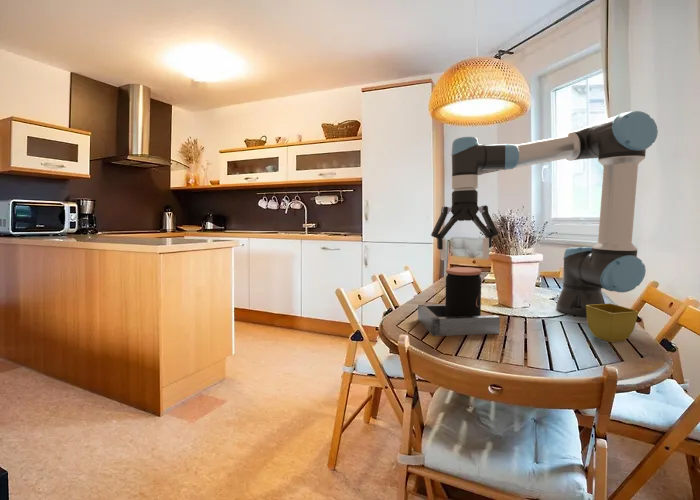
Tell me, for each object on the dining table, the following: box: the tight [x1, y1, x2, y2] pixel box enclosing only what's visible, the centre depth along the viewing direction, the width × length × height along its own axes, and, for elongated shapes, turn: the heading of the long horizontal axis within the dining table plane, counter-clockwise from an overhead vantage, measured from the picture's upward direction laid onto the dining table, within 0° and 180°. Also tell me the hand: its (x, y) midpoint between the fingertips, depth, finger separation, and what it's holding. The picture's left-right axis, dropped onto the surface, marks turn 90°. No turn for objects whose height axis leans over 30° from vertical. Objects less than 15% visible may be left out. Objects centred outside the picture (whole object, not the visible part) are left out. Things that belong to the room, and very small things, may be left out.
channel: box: [417, 303, 501, 337], centre depth 115 cm, size 20×17×5 cm
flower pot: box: [586, 302, 639, 343], centre depth 102 cm, size 9×9×9 cm
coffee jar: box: [444, 266, 482, 317], centre depth 115 cm, size 11×11×18 cm
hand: (464, 259), depth 114 cm, fingers open, 13 cm apart
